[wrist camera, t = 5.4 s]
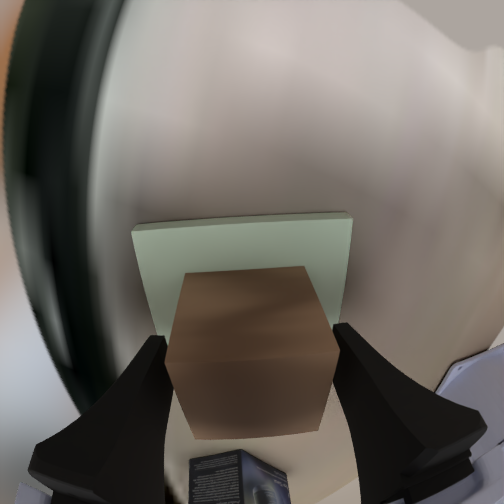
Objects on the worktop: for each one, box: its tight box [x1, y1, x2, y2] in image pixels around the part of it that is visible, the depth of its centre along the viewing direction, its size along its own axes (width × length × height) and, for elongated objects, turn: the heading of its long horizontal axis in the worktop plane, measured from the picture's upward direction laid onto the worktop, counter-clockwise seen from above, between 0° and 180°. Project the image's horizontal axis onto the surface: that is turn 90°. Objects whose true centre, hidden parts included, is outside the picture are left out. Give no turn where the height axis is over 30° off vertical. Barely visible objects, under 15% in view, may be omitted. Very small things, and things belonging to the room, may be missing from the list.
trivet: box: [131, 212, 353, 345], centre depth 14 cm, size 9×9×1 cm
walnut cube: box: [164, 266, 340, 440], centre depth 11 cm, size 5×5×5 cm
